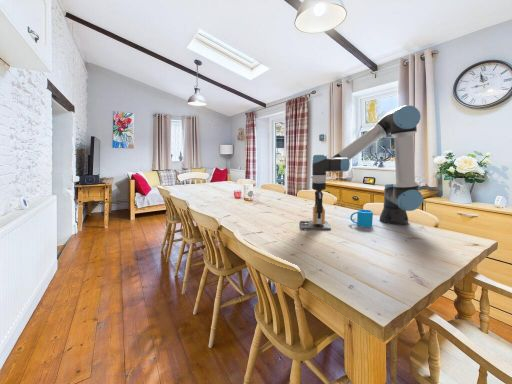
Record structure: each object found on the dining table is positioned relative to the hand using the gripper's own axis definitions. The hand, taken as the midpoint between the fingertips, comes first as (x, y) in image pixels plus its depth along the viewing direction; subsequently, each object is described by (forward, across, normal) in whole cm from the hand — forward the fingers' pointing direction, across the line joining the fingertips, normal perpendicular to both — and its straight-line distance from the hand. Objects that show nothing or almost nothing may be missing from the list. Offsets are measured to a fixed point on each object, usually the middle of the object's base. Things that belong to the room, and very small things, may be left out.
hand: (318, 222), depth 141 cm
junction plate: (+2, 0, -2) cm, 3 cm away
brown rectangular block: (0, 0, 0) cm, 0 cm away
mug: (+3, -5, +25) cm, 26 cm away
